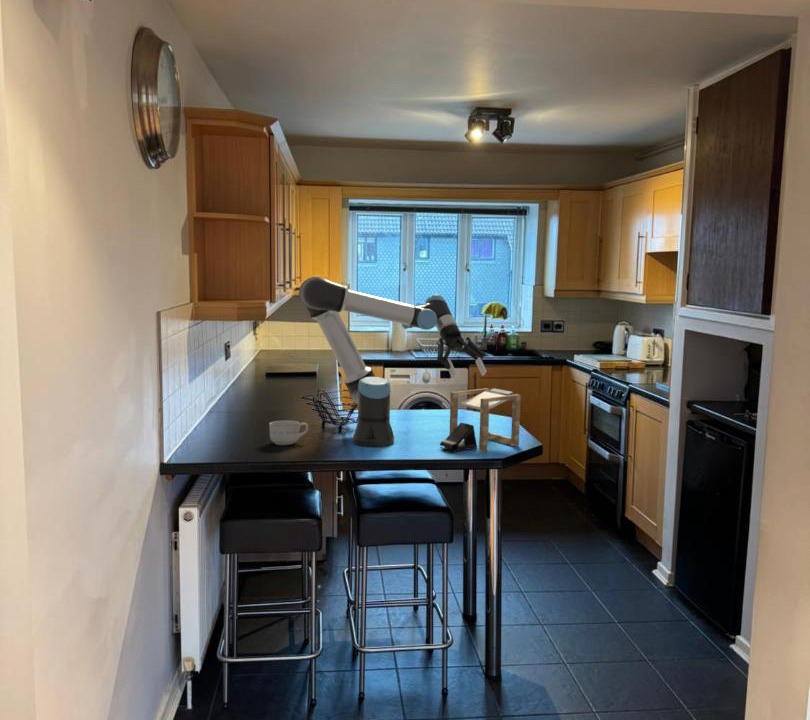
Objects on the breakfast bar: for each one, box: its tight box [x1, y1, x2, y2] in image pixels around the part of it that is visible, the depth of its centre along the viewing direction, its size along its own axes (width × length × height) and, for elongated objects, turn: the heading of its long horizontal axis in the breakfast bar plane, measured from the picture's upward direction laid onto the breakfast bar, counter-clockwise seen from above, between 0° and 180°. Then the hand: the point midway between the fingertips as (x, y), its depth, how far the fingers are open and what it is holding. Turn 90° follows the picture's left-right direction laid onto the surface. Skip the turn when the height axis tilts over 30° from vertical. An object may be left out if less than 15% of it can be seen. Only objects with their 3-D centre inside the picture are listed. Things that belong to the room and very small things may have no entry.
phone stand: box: [439, 422, 478, 453], centre depth 257 cm, size 9×6×12 cm
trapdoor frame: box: [448, 387, 522, 454], centre depth 264 cm, size 18×18×19 cm
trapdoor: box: [460, 388, 514, 411], centre depth 264 cm, size 13×16×3 cm
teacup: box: [268, 420, 309, 446], centre depth 260 cm, size 14×11×8 cm
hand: (469, 374), depth 264 cm, fingers open, 13 cm apart
